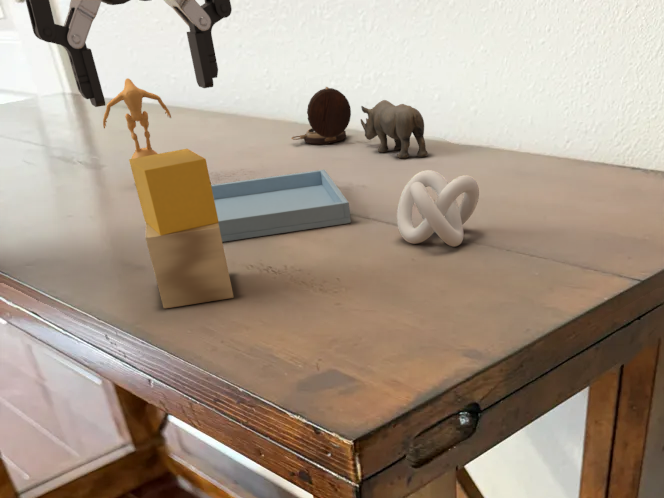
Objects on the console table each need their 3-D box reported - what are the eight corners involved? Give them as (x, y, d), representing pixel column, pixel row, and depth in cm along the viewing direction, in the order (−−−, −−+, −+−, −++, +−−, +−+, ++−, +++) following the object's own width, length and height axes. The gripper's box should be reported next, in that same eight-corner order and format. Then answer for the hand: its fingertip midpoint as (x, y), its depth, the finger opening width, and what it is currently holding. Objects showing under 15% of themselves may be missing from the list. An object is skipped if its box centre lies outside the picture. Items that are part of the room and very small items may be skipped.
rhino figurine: (376, 140, 115) (372, 93, 112) (434, 155, 106) (431, 104, 102) (352, 146, 114) (347, 98, 110) (408, 161, 104) (405, 109, 101)
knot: (456, 221, 83) (454, 160, 80) (498, 241, 77) (498, 176, 74) (390, 236, 81) (385, 174, 77) (429, 258, 75) (425, 191, 71)
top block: (160, 235, 66) (144, 170, 63) (144, 221, 70) (128, 159, 66) (219, 222, 68) (205, 158, 65) (200, 209, 71) (187, 148, 68)
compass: (339, 133, 121) (333, 78, 117) (354, 143, 115) (349, 85, 111) (287, 141, 119) (279, 85, 115) (300, 151, 113) (292, 93, 109)
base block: (163, 309, 70) (145, 237, 66) (163, 285, 74) (145, 217, 71) (233, 297, 70) (219, 227, 67) (228, 275, 75) (214, 208, 71)
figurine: (179, 172, 108) (156, 70, 101) (188, 182, 104) (165, 75, 97) (116, 183, 106) (88, 79, 99) (123, 193, 102) (94, 85, 94)
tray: (186, 247, 83) (181, 226, 81) (181, 208, 94) (177, 189, 93) (351, 223, 85) (348, 202, 84) (326, 188, 97) (324, 169, 96)
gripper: (176, -180, 58) (224, 77, 68) (-34, -170, 53) (51, 105, 63) (209, -195, 53) (256, 86, 63) (-21, -185, 48) (69, 118, 58)
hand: (153, 95), depth 63 cm, fingers open, 8 cm apart
